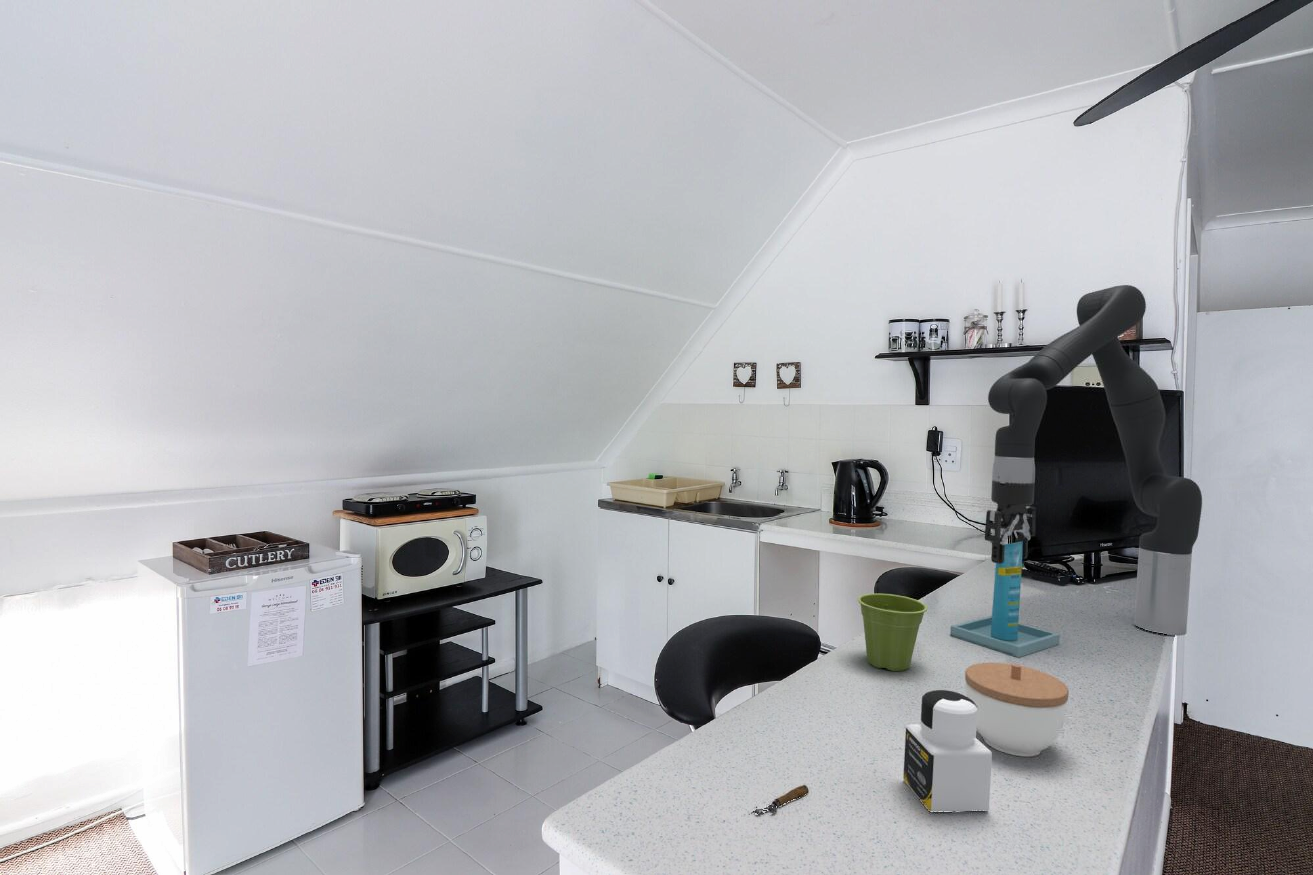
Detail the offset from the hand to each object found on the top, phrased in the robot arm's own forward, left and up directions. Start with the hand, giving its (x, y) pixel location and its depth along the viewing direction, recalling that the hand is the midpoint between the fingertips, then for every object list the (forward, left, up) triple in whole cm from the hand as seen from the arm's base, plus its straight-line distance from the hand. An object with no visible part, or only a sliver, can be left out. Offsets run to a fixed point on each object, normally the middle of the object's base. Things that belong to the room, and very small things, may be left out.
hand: (1009, 560), depth 140 cm
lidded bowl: (+42, +25, -16) cm, 52 cm away
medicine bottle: (+62, +28, -16) cm, 70 cm away
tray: (0, 0, -16) cm, 16 cm away
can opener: (+80, +19, -17) cm, 84 cm away
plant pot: (+32, -3, -16) cm, 36 cm away
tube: (0, 0, -16) cm, 16 cm away
